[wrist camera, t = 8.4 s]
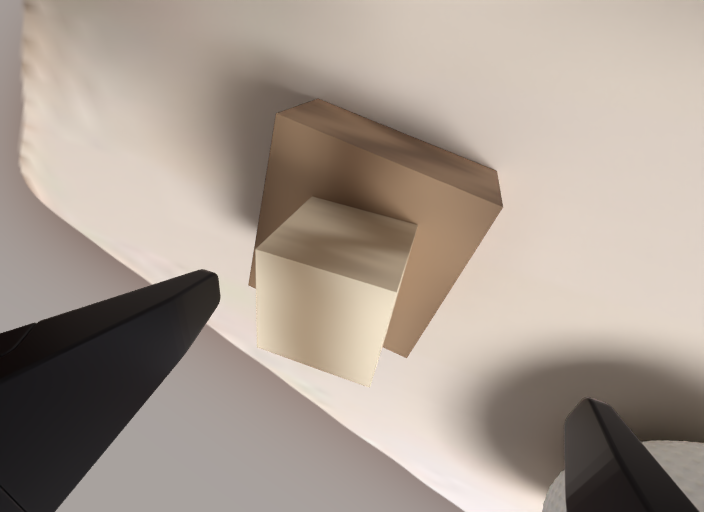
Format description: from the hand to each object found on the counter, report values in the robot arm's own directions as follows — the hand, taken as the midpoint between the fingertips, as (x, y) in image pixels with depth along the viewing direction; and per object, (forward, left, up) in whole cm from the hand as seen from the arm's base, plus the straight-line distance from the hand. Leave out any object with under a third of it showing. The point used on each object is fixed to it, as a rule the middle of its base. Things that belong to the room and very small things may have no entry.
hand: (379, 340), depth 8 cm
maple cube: (+2, +3, -8) cm, 9 cm away
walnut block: (+3, +3, -13) cm, 14 cm away
